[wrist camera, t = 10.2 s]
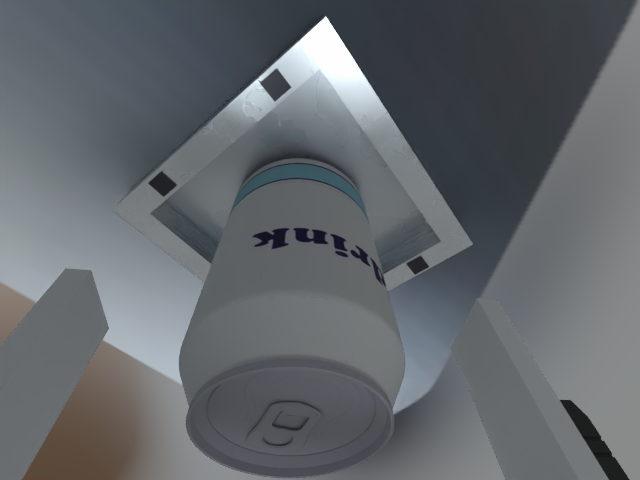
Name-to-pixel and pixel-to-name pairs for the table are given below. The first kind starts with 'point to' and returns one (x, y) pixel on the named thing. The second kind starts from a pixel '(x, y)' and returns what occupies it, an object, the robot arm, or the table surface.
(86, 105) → the table surface
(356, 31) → the table surface
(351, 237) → the beverage can
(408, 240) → the rail plate
